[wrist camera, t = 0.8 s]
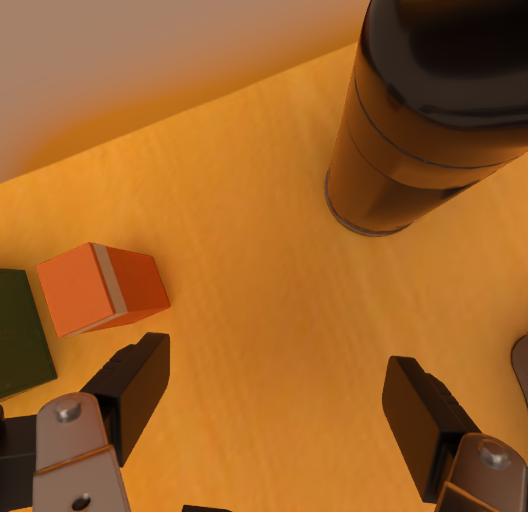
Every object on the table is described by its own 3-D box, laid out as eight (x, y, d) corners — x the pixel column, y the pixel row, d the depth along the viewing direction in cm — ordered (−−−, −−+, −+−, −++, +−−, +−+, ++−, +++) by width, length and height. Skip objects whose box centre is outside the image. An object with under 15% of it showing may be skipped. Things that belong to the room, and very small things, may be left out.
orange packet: (152, 256, 33) (88, 241, 23) (171, 306, 32) (113, 314, 22) (113, 273, 33) (34, 265, 23) (131, 323, 32) (56, 338, 23)
